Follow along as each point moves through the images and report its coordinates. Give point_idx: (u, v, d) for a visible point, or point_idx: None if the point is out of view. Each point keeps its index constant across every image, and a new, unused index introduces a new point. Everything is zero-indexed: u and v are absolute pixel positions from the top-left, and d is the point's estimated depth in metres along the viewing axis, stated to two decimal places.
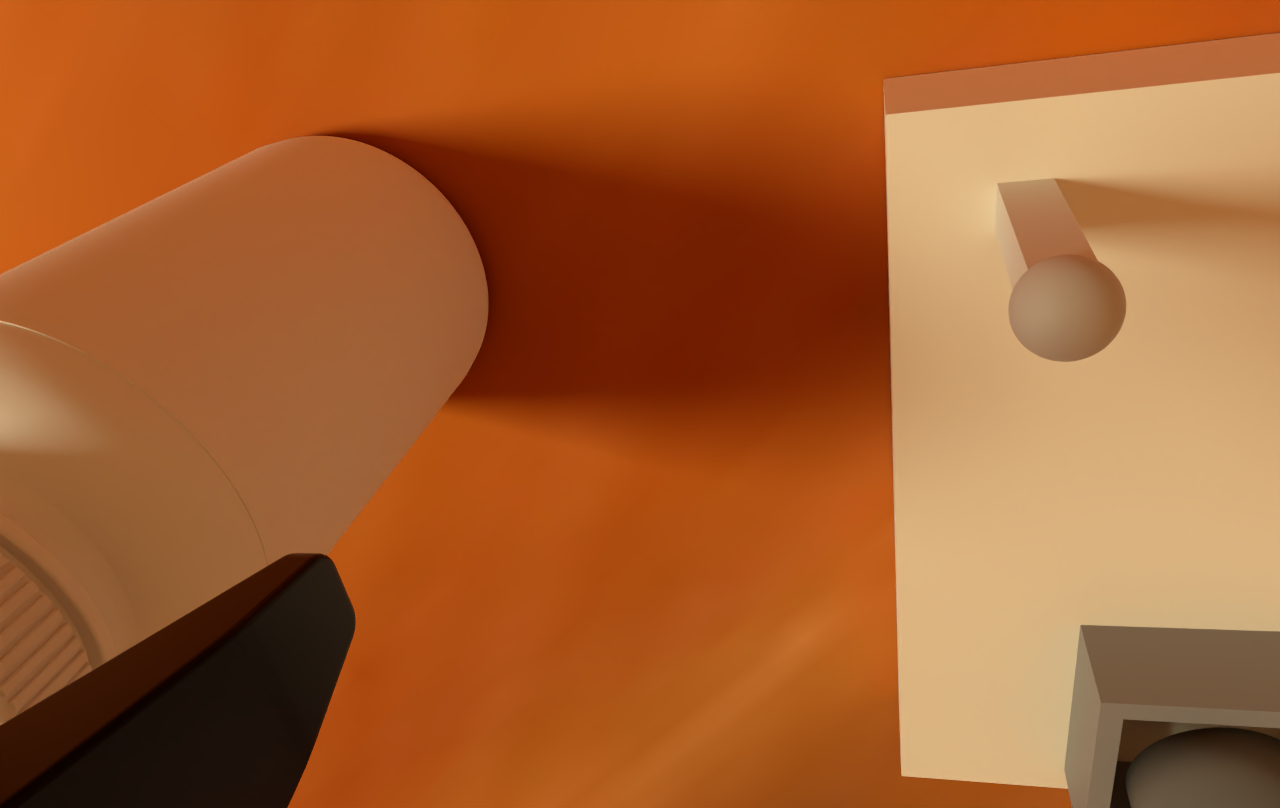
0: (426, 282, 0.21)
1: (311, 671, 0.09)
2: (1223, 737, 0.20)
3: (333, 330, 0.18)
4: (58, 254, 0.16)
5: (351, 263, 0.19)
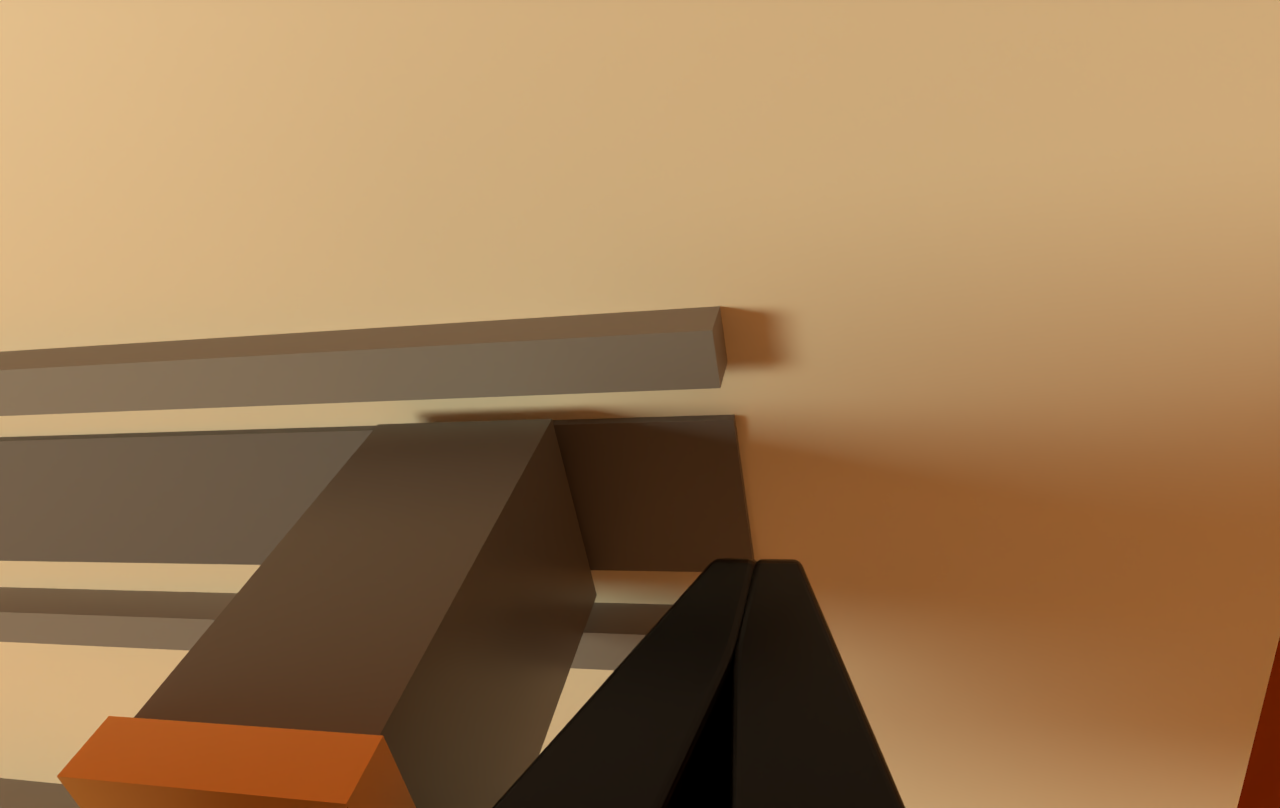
0: None
1: None
2: None
3: None
4: None
5: None
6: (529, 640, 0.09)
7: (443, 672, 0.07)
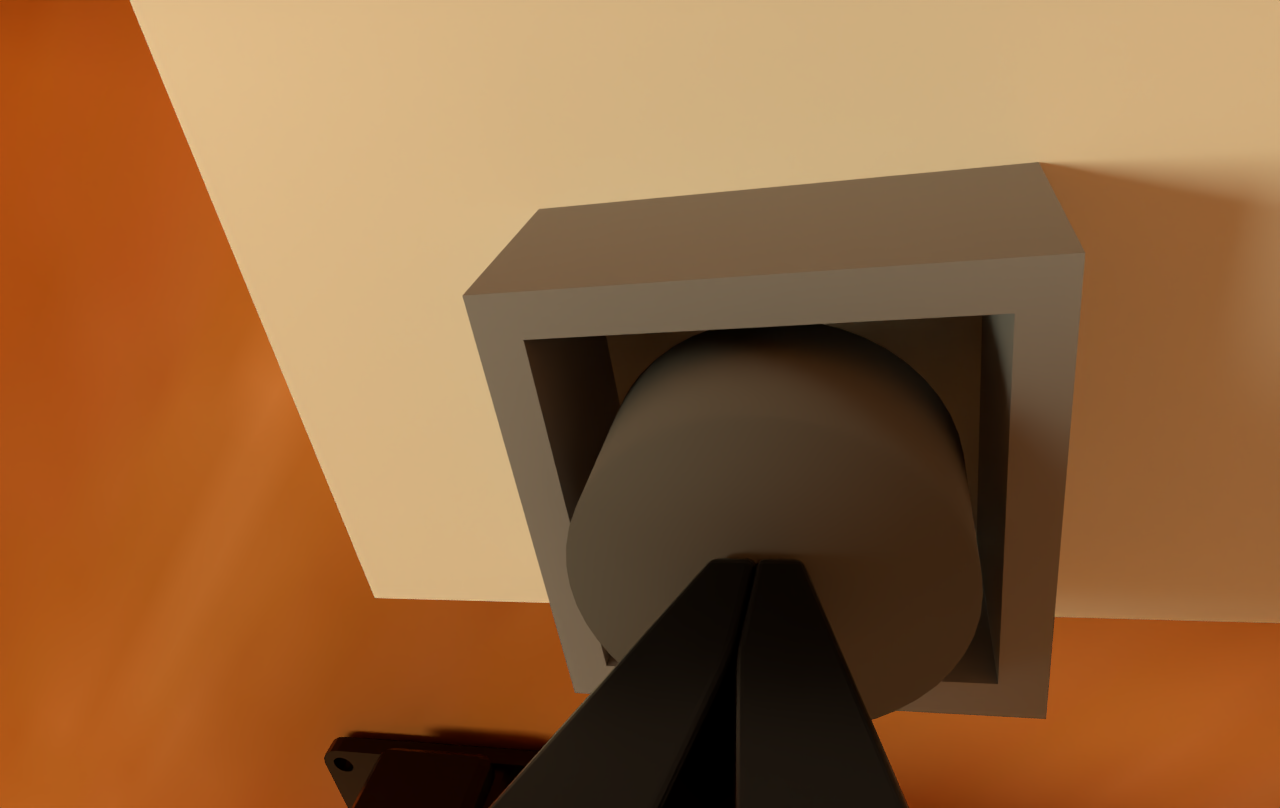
0: None
1: None
2: (740, 332, 0.09)
3: None
4: None
5: None
6: None
7: None
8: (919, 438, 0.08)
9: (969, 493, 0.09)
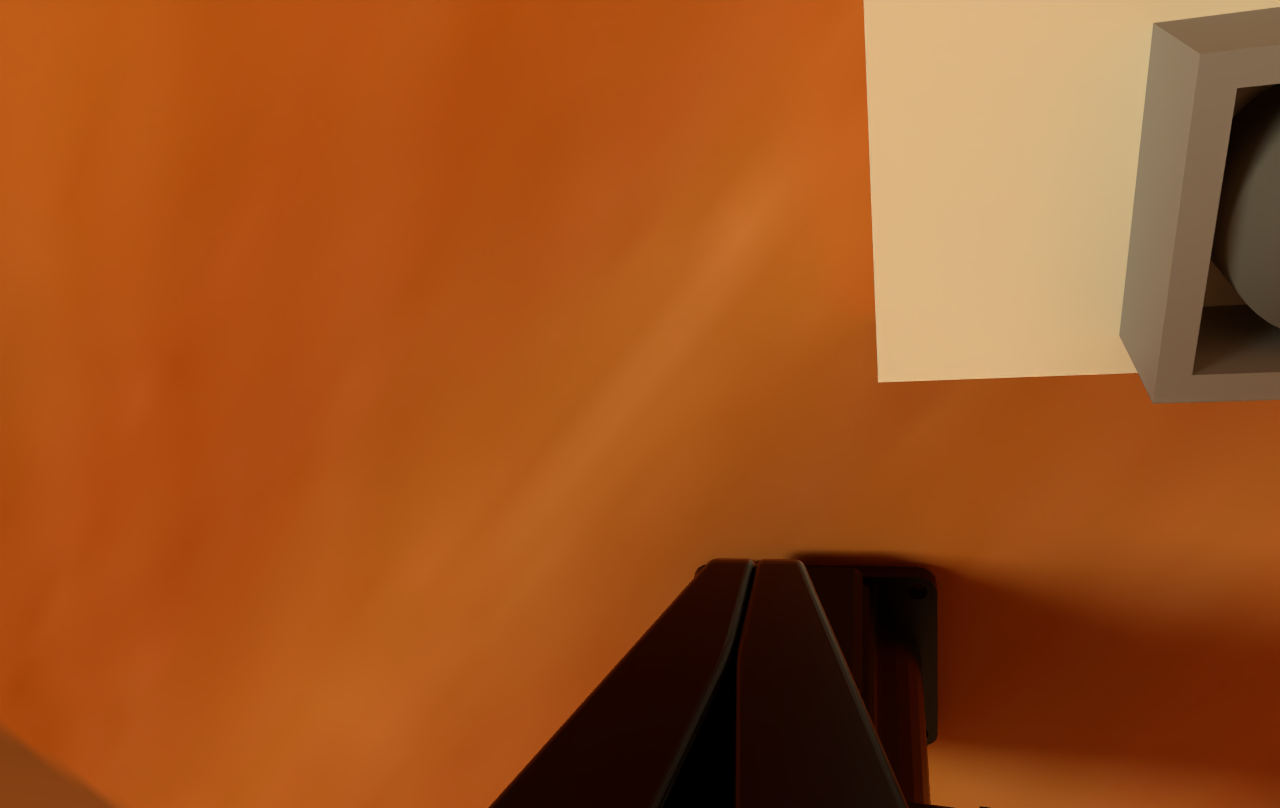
0: None
1: None
2: None
3: None
4: None
5: None
6: None
7: None
8: None
9: None
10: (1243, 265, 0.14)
